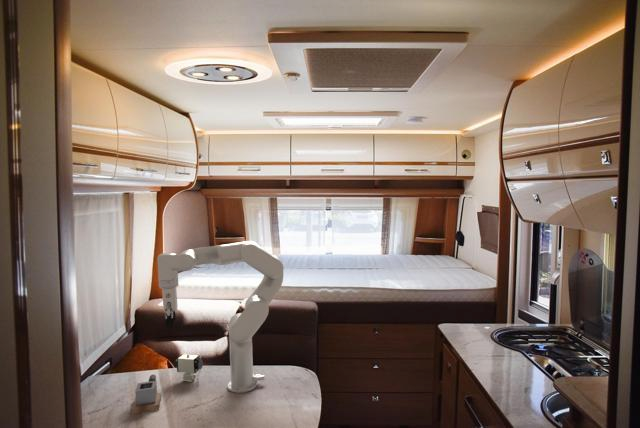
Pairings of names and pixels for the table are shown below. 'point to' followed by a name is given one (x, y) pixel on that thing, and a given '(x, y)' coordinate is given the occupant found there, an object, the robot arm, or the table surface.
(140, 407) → the mallet
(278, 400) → the table surface
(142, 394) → the hollow grey cube
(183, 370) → the pneumatic valve
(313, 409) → the table surface
